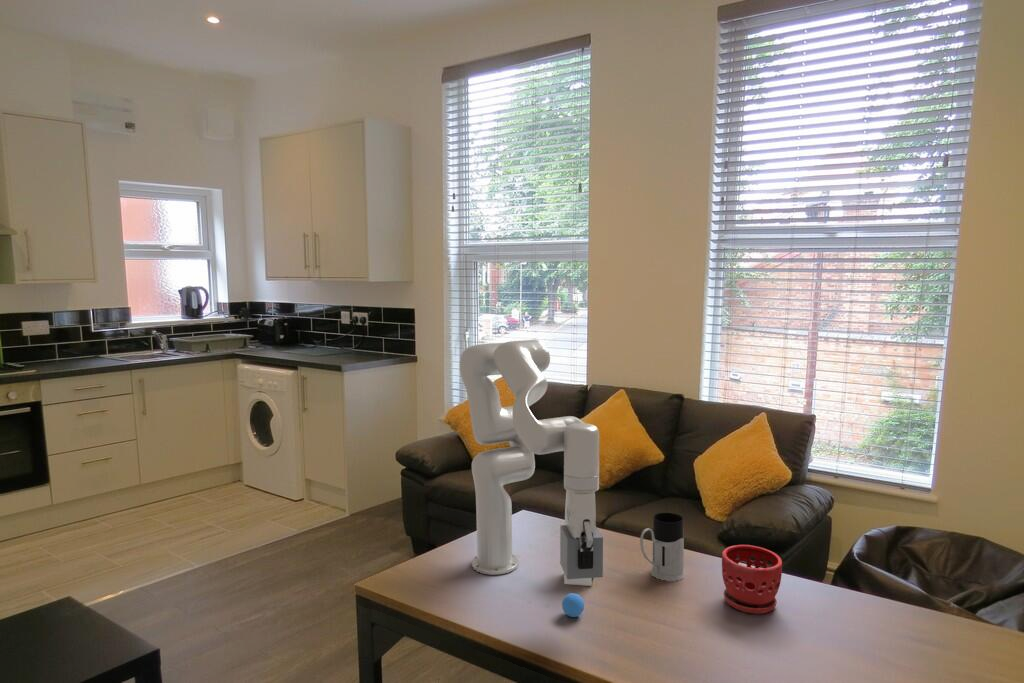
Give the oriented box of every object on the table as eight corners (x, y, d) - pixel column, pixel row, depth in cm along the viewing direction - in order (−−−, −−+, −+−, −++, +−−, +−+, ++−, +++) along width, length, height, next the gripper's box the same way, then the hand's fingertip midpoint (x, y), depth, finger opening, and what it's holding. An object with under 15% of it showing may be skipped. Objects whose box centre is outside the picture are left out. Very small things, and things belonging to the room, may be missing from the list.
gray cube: (560, 563, 143) (560, 525, 142) (593, 561, 144) (594, 523, 143) (567, 579, 135) (567, 539, 134) (602, 577, 136) (603, 537, 135)
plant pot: (711, 606, 148) (712, 556, 148) (735, 586, 158) (736, 539, 157) (768, 625, 140) (769, 572, 139) (789, 603, 149) (790, 554, 148)
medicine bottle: (592, 586, 159) (592, 540, 158) (564, 584, 161) (563, 538, 160) (594, 574, 166) (594, 529, 165) (567, 572, 168) (566, 527, 167)
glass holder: (692, 575, 165) (692, 518, 164) (654, 590, 157) (654, 531, 156) (666, 563, 172) (666, 509, 171) (628, 577, 164) (628, 520, 163)
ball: (560, 610, 147) (560, 590, 147) (581, 609, 148) (581, 588, 147) (564, 622, 142) (564, 600, 142) (586, 620, 143) (586, 599, 142)
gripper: (556, 470, 146) (556, 544, 147) (572, 495, 129) (572, 579, 130) (588, 468, 147) (588, 542, 148) (609, 493, 129) (608, 576, 131)
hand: (581, 559), depth 139 cm, fingers closed on gray cube, 7 cm apart
